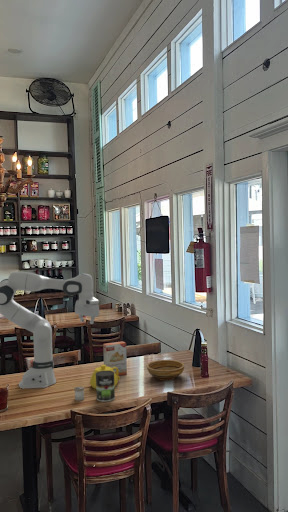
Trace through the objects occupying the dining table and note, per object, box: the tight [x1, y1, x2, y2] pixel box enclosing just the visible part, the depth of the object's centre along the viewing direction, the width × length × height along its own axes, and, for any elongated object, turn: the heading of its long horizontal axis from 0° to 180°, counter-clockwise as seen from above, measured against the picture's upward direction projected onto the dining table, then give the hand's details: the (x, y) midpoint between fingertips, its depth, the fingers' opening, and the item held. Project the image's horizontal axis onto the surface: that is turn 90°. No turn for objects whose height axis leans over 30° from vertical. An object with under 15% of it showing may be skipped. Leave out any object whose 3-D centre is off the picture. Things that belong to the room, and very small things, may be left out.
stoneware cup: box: [74, 386, 85, 401], centre depth 241 cm, size 5×5×6 cm
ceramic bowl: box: [145, 359, 186, 381], centre depth 273 cm, size 30×24×8 cm
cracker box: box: [102, 341, 128, 377], centre depth 281 cm, size 14×6×21 cm, turn 115°
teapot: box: [89, 364, 121, 390], centre depth 260 cm, size 20×19×13 cm
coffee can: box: [95, 371, 116, 403], centre depth 240 cm, size 10×10×14 cm
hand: (86, 323), depth 263 cm, fingers open, 8 cm apart
